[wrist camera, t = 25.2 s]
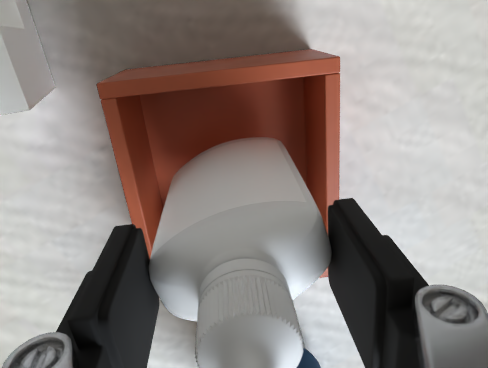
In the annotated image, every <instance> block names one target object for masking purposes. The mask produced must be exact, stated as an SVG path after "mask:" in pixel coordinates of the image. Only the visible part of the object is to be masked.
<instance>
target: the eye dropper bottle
mask: <svg viewBox="0 0 488 368" xmlns="http://www.w3.org/2000/svg"><path fill="white" fill-rule="evenodd" d="M331 256H332V249H331V245H330V241H329V238H328V234H327V231H326V228H325V225H324V222H323V219H322V216H321V214H320V211H319V209H318V207H317V205H316V203H315V201H314V199H313V197H312V195H311V193H310V192H309V190H308V188H307V186H306V184H305V182H304V181H303V179H302V177H301V175H300V173H299V171H298V169H297V168H296V166H295V164H294V162H293V160H292V159H291V157H290V155H289V153H288V151H287V150H286V148H285V146H284V145H283V144H282V142H281V141H279V140H277V139H274V138H267V137H253V138H243V139H237V140H232V141H228V142H225V143H222V144H219V145H216V146H214V147H212V148H209V149H207V150H206V151H204V152H202V153H200V154H199V155H197V156H196V157H194V158H193V159H191V160H190V161H189V162H187V163H186V164H185V165H184V166H183V167H181V168H180V169H179V170H178V172H177V173H176V174H175V175H174V177H173V179H172V181H171V184H170V187H169V191H168V194H167V198H166V201H165V205H164V208H163V212H162V215H161V219H160V222H159V226H158V230H157V233H156V237H155V241H154V244H153V248H152V253H151V257H150V262H149V275H150V280H151V282H152V285H153V287H154V289H155V291H156V292H157V294H158V296H159V298H160V299H161V301H162V303H163V304H164V306H165V307H166V308H167V310H168V311H169V312H171V313H172V314H173V315H174V316H176V317H179V318H182V319H186V320H191V321H197V332H196V347H195V354H196V356H195V358H196V362H197V363H198V367H199V368H297V366H298V365H299V362H300V361H301V358H302V356H303V355H302V354H303V352H304V351H303V348H304V346H303V344H304V342H303V338H302V334H301V330H300V327H299V323H298V319H297V316H296V312H295V308H294V305H293V301H292V300H293V299H294V298H296V297H297V296H298V295H300V294H301V293H302V292H303V291H305V290H306V289H307V288H308V287H309V286H311V285H312V284H313V283H314V282H315V281H316V280H317V279H318V278H319V277H320V276H321V275H322V274H323V273H324V272H325V270H326V269H327V267H328V266H329V264H330V262H331Z"/></svg>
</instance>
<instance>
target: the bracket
mask: <svg viewBox="0 0 488 368" xmlns="http://www.w3.org/2000/svg"><path fill="white" fill-rule="evenodd" d="M55 88H56V86H55V83H54V80H53V77H52V74H51V71H50V69H49V66H48V63H47V60H46V57H45V54H44V51H43V48H42V45H41V42H40V39H39V36H38V33H37V30H36V27H35V24H34V21H33V18H32V15H31V12H30V10H29V7H28V4H27V1H26V0H0V116H1V115H6V114H12V113H17V112H22V111H28V110H30V109H32V108H33V107H34V106H35V105H36V104H37V103H39V102H40V101H41V100H42V99H43V98H44V97H46V96H47V95H48V94H49V93H50V92H51V91H53V90H54V89H55Z"/></svg>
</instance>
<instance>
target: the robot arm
mask: <svg viewBox="0 0 488 368" xmlns="http://www.w3.org/2000/svg"><path fill="white" fill-rule="evenodd" d="M328 238H329V241H330V245H331V249H332V256H331V262H330V264H329V266H328V278H329V283H330V286H331V289H332V291H333V294H334V296H335V298H336V301H337V303H338V305H339V308H340V310H341V312H342V315H343V317H344V319H345V321H346V324H347V326H348V328H349V331H350V333H351V335H352V338H353V340H354V342H355V345H356V347H357V349H358V352H359V354H360V356H361V359H362V361H363V363H364V366H365V368H488V313H487V311H486V309H485V307H484V306H483V304H482V303H481V302H480V301H479V300H478V299H477V298H476V297H475V296H473V295H472V294H470V293H468V292H466V291H464V290H462V289H459V288H456V287H453V286H447V285H430V286H429V285H428V284H427V282H426V281H425V280H424V279H423V277H422V276H421V275H420V274H419V272H418V271H417V270H416V269H415V268H414V266H413V265H412V264H411V263H410V261H409V260H408V259H407V258H406V256H405V255H404V254H403V253H402V251H401V250H400V249H399V248H398V247H397V245H396V244H395V243H394V242H393V240H392V239H391V238H390V237H389V236H387V235H381V233H380V232H379V231H378V230H377V228H376V227H375V226H374V224H373V223H372V222H371V221H370V219H369V218H368V217H367V215H366V214H365V213H364V212H363V210H362V209H361V208H360V206H359V205H358V204H357V203H356V201H355V200H354V199H353V198H349V199H341V200H334V203H333V205H329V206H328ZM149 262H150V259H149V254H148V250H147V246H146V242H145V238H144V234H143V230H142V229H141V228H136V226H135V225H134V224H130V225H122V226H115V227H114V229H113V231H112V233H111V235H110V237H109V239H108V241H107V243H106V245H105V247H104V249H103V251H102V253H101V255H100V257H99V259H98V260H97V262H96V264H95V266H94V268H93V270H92V271H89V272H88V273H87V274H86V276H85V278H84V279H83V281H82V283H81V285H80V287H79V289H78V291H77V293H76V295H75V297H74V299H73V300H72V302H71V304H70V306H69V308H68V310H67V312H66V314H65V316H64V318H63V320H62V321H61V323H60V325H59V327H58V329H57V331H56V332H53V333H46V334H42V335H39V336H37V337H34V338H32V339H30V340H28V341H26V342H25V343H23V344H22V345H20V346H19V347H18V348H17V349H15V350H14V351H13V352H12V353H11V354H10V355H9V356H8V358H7V359H6V360H5V362H4V363H3V366H2V368H147V363H148V359H149V354H150V349H151V344H152V339H153V334H154V329H155V325H156V320H157V315H158V310H159V296H158V294H157V292H156V291H155V289H154V287H153V285H152V282H151V280H150V275H149Z"/></svg>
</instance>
